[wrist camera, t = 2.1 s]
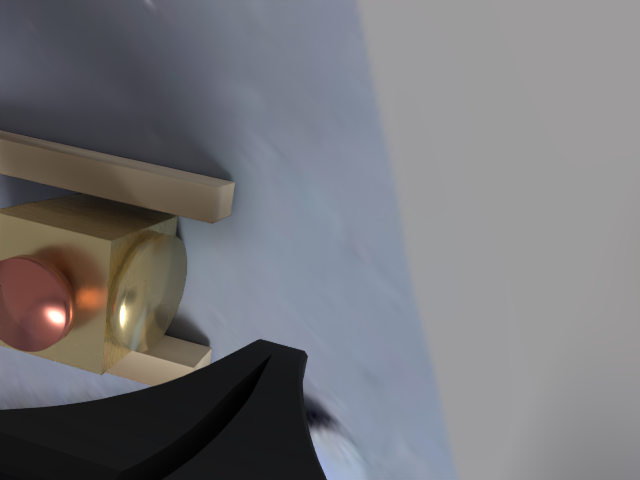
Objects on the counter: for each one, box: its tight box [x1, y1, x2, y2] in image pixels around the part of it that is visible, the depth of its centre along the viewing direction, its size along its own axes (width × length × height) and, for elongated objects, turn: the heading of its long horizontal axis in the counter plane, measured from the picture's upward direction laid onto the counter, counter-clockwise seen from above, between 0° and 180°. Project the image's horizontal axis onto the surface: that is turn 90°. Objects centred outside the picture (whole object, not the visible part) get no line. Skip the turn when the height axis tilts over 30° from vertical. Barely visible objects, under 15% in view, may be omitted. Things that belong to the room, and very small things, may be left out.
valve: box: [0, 193, 187, 375], centre depth 16 cm, size 5×4×5 cm
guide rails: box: [0, 130, 235, 386], centre depth 18 cm, size 8×17×2 cm, turn 79°
